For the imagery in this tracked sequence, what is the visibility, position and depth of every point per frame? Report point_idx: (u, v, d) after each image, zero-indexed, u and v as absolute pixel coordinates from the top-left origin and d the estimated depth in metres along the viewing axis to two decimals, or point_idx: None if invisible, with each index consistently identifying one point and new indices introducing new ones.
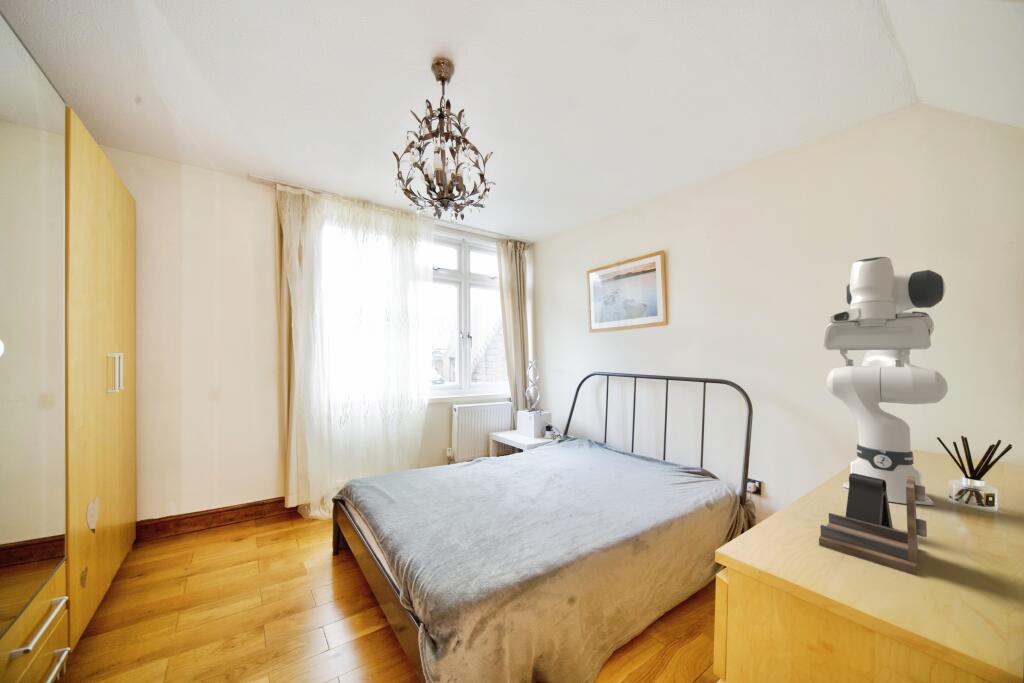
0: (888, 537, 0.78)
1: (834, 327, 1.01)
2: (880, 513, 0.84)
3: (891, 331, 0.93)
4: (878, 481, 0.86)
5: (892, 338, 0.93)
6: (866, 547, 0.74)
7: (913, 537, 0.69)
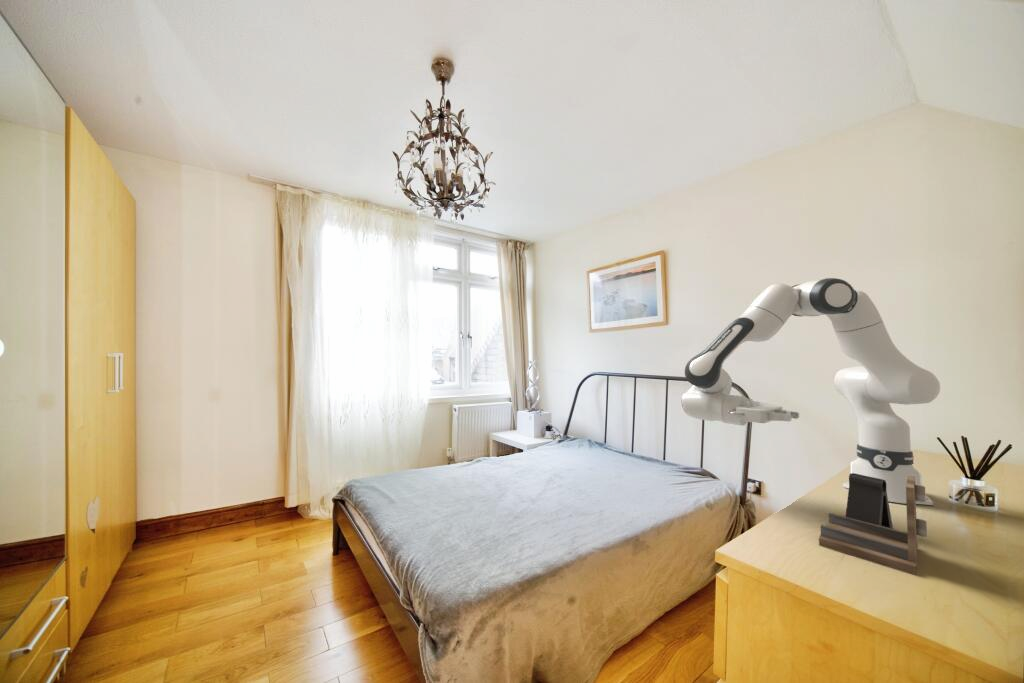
0: (888, 537, 0.78)
1: None
2: (880, 513, 0.84)
3: None
4: (878, 481, 0.86)
5: None
6: (866, 547, 0.74)
7: (913, 537, 0.69)
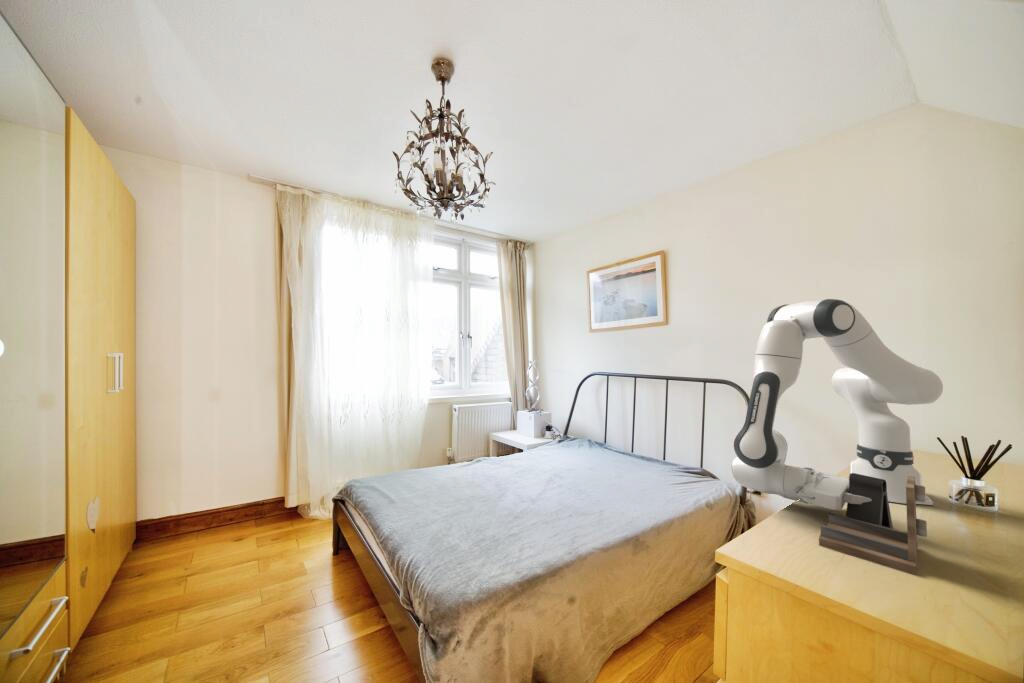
0: (888, 537, 0.78)
1: None
2: (880, 513, 0.84)
3: None
4: (878, 481, 0.86)
5: None
6: (866, 547, 0.74)
7: (913, 537, 0.69)
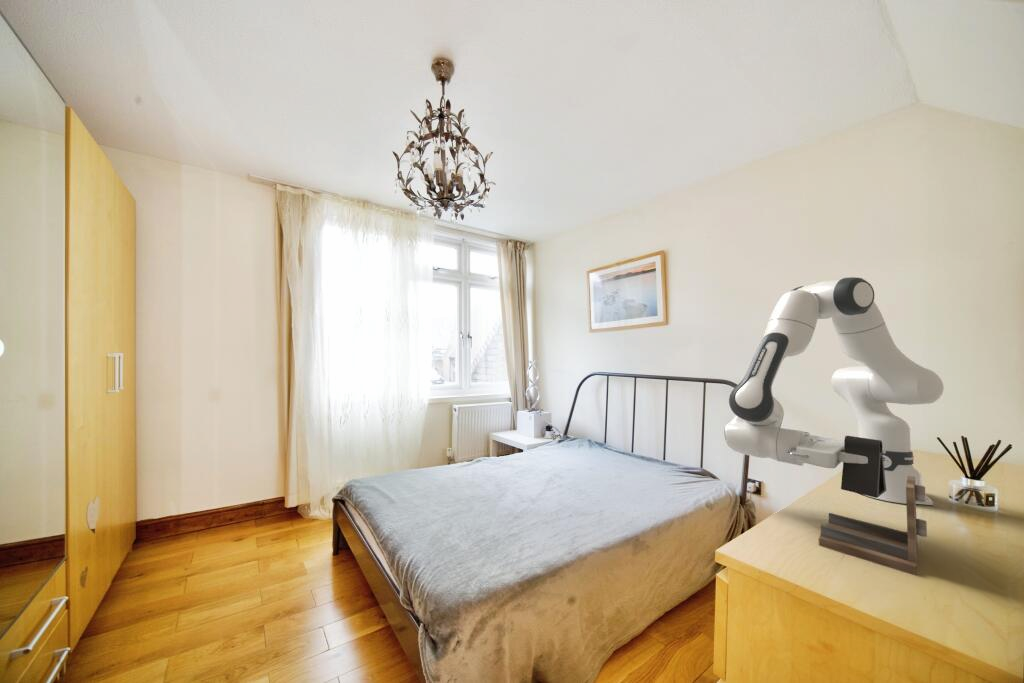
0: (888, 537, 0.78)
1: None
2: (878, 474, 0.80)
3: None
4: (875, 442, 0.82)
5: None
6: (866, 547, 0.74)
7: (913, 537, 0.69)
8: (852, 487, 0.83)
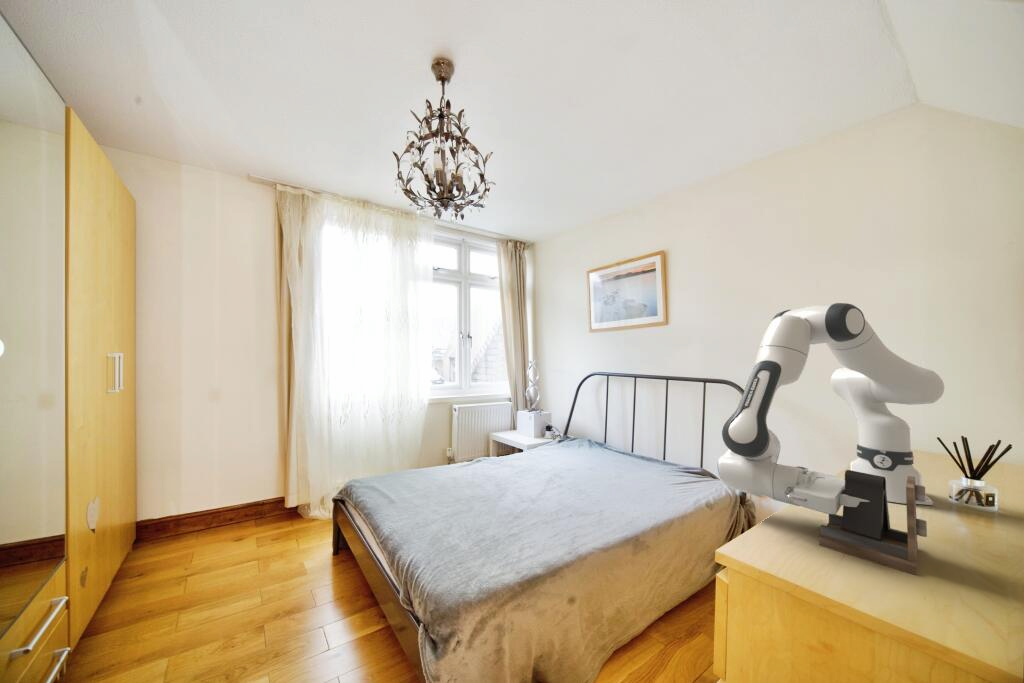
0: (888, 537, 0.78)
1: None
2: (882, 515, 0.74)
3: None
4: (878, 479, 0.76)
5: None
6: (866, 547, 0.74)
7: (913, 537, 0.69)
8: (854, 528, 0.76)
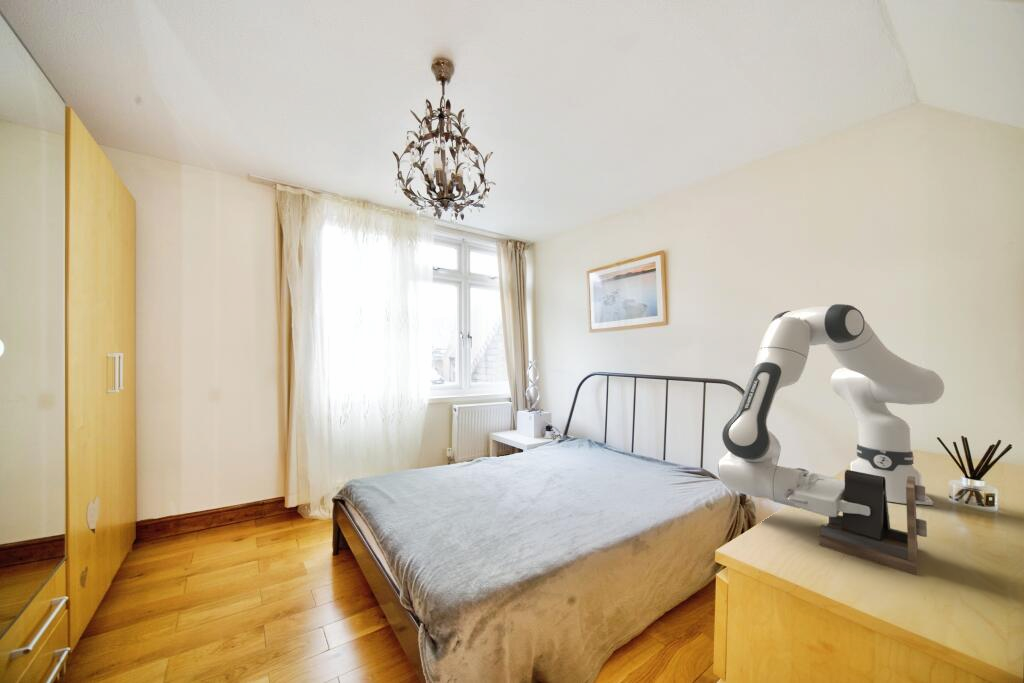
0: (888, 537, 0.78)
1: None
2: (881, 515, 0.74)
3: None
4: (878, 478, 0.76)
5: None
6: (866, 547, 0.74)
7: (913, 537, 0.69)
8: (854, 528, 0.76)
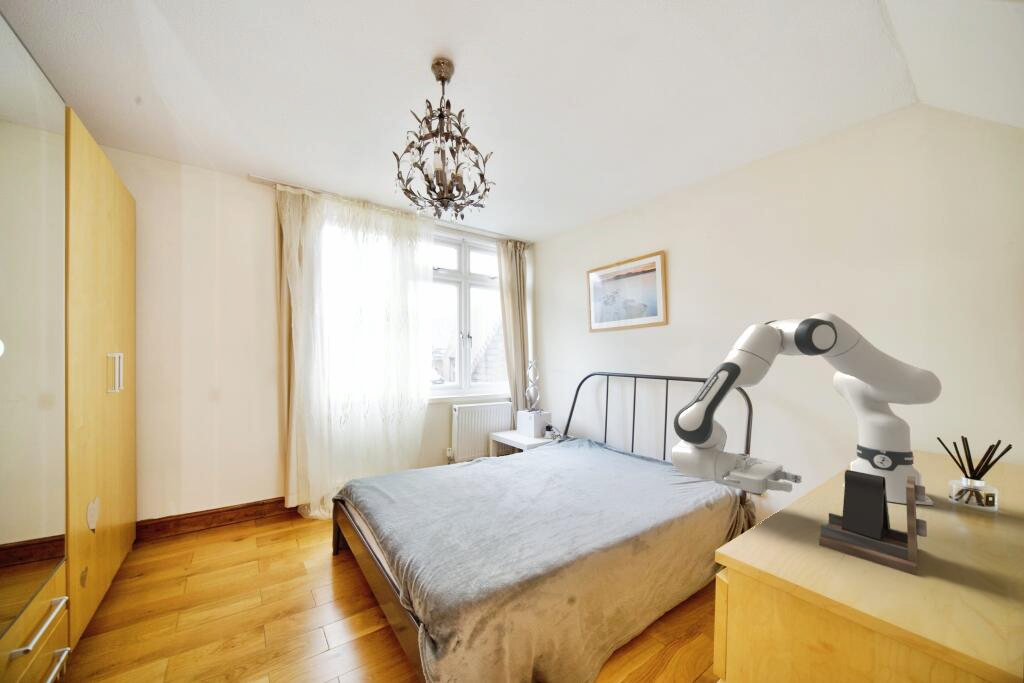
0: (888, 537, 0.78)
1: None
2: (881, 515, 0.74)
3: None
4: (878, 478, 0.76)
5: None
6: (866, 547, 0.74)
7: (913, 537, 0.69)
8: (854, 528, 0.76)
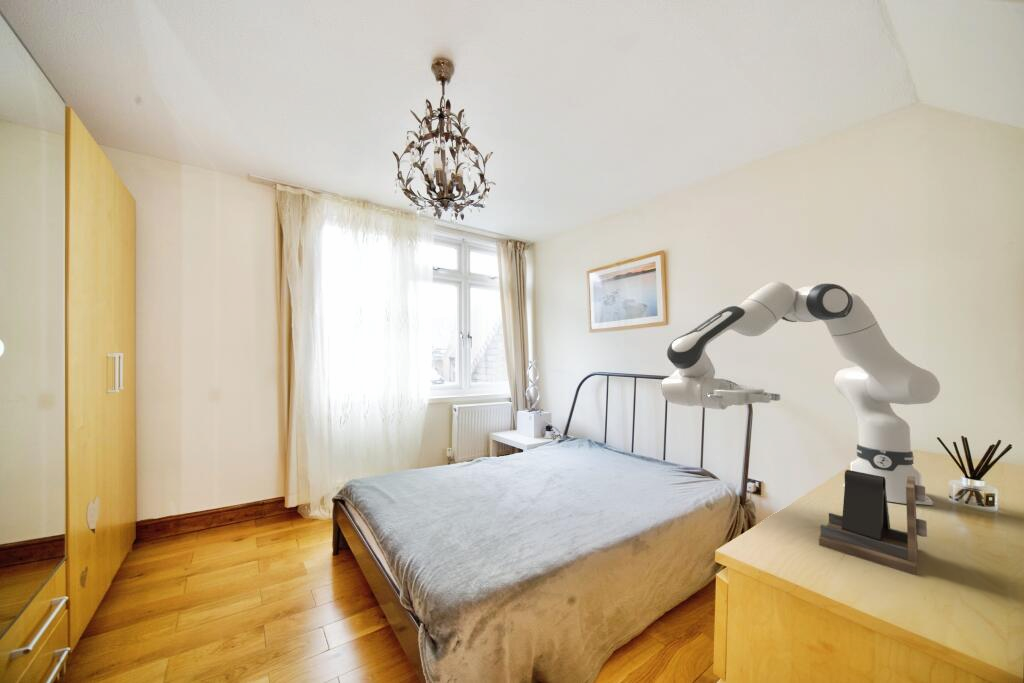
0: (888, 537, 0.78)
1: None
2: (881, 515, 0.74)
3: None
4: (878, 478, 0.76)
5: None
6: (866, 547, 0.74)
7: (913, 537, 0.69)
8: (854, 528, 0.76)
